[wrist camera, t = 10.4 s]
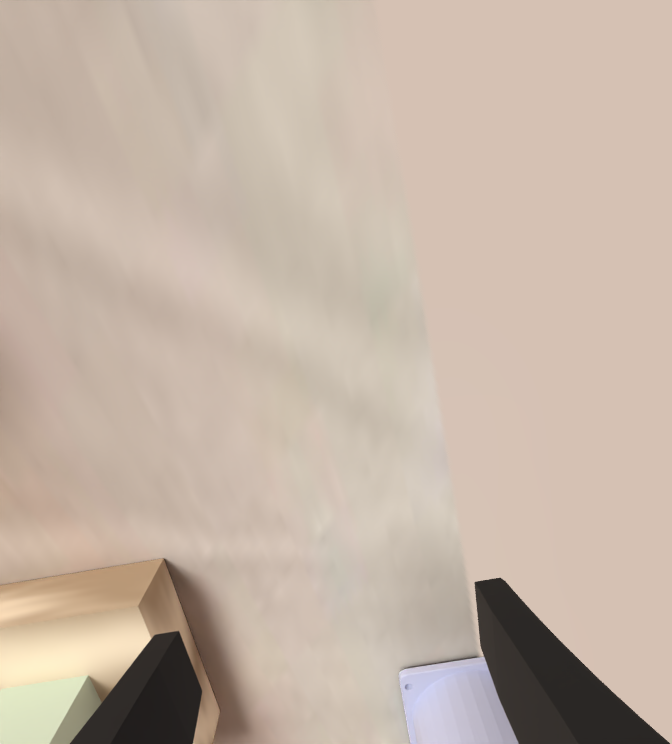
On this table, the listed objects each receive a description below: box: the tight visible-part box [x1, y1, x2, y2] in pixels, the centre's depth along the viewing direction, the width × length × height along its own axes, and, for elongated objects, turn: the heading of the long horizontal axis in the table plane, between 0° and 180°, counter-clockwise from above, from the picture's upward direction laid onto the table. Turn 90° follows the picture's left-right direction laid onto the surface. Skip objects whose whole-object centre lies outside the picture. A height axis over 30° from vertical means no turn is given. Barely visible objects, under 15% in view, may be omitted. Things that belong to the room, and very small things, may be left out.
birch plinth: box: [0, 558, 220, 744], centre depth 21 cm, size 12×12×3 cm
